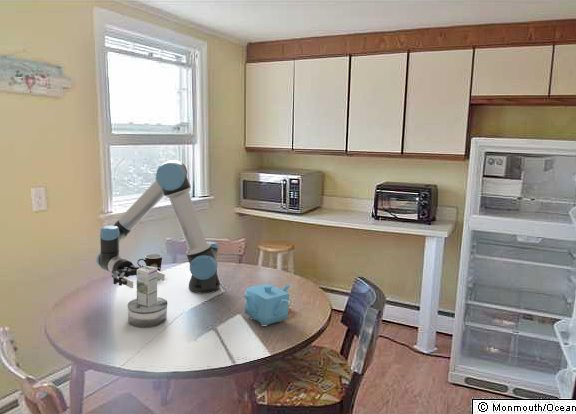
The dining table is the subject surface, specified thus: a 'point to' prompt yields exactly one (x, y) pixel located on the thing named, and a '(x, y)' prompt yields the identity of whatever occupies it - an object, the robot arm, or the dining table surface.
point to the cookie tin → (147, 314)
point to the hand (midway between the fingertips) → (148, 280)
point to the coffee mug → (152, 260)
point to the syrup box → (146, 286)
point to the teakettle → (267, 303)
